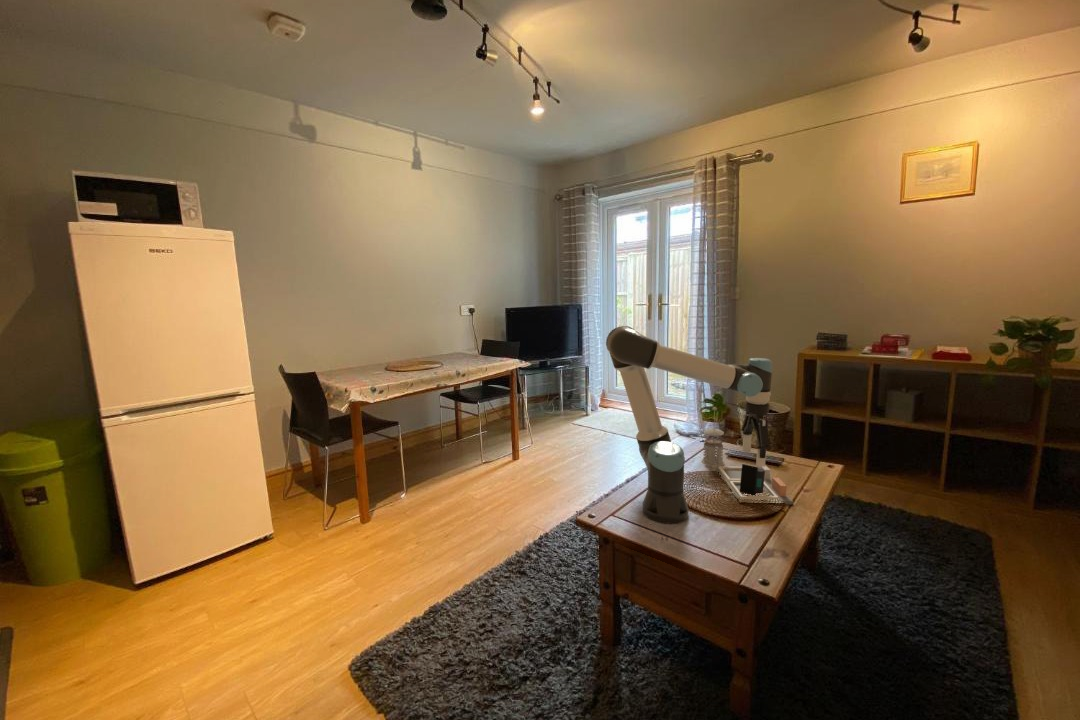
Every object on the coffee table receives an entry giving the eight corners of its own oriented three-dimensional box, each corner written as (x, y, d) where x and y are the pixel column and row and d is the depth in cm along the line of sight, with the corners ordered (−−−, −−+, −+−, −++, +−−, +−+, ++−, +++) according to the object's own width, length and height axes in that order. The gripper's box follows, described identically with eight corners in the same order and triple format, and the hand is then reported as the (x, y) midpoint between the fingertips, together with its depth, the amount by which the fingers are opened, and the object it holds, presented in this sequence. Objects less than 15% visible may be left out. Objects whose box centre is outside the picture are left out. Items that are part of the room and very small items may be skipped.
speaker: (753, 497, 155) (755, 468, 154) (739, 491, 160) (741, 464, 159) (766, 494, 158) (768, 466, 157) (752, 488, 163) (754, 461, 163)
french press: (720, 458, 194) (723, 403, 190) (729, 468, 183) (731, 411, 179) (698, 457, 195) (699, 404, 191) (705, 468, 184) (707, 411, 180)
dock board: (739, 503, 154) (739, 489, 153) (716, 470, 181) (716, 458, 180) (793, 504, 152) (794, 490, 151) (761, 471, 179) (762, 459, 178)
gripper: (784, 411, 141) (778, 473, 145) (755, 393, 166) (751, 446, 169) (760, 411, 142) (755, 472, 146) (734, 393, 167) (731, 445, 170)
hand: (753, 458), depth 157 cm, fingers open, 13 cm apart
